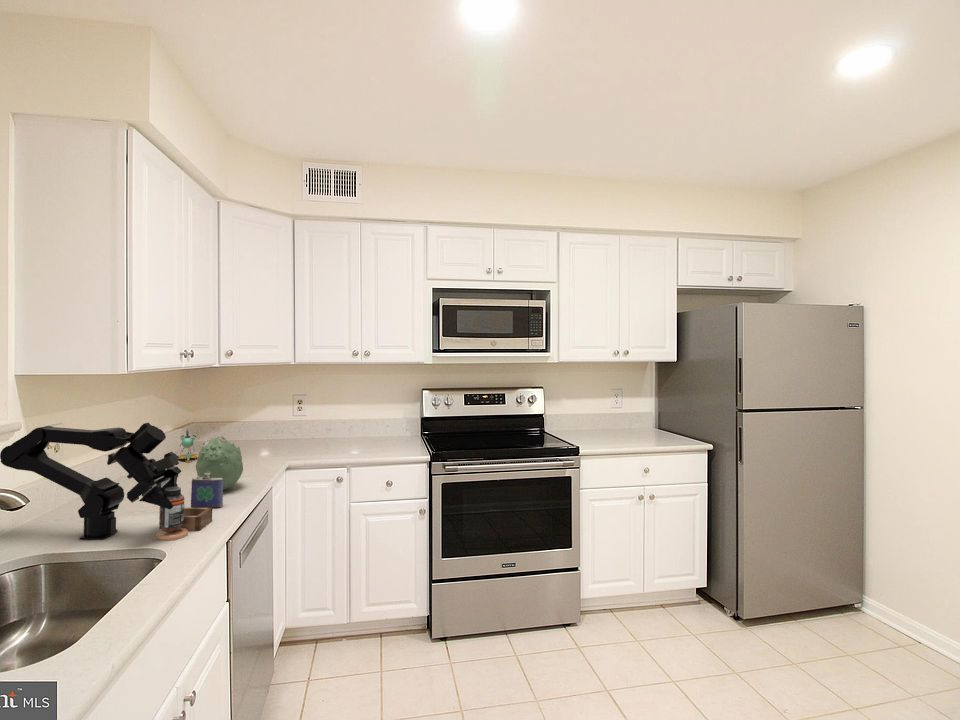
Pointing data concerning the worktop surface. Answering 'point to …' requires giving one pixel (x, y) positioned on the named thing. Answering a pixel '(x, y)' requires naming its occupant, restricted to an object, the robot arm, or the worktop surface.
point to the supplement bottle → (172, 510)
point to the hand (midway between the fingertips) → (177, 504)
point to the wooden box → (196, 518)
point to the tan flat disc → (171, 534)
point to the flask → (207, 492)
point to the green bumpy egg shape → (220, 461)
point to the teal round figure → (187, 443)
